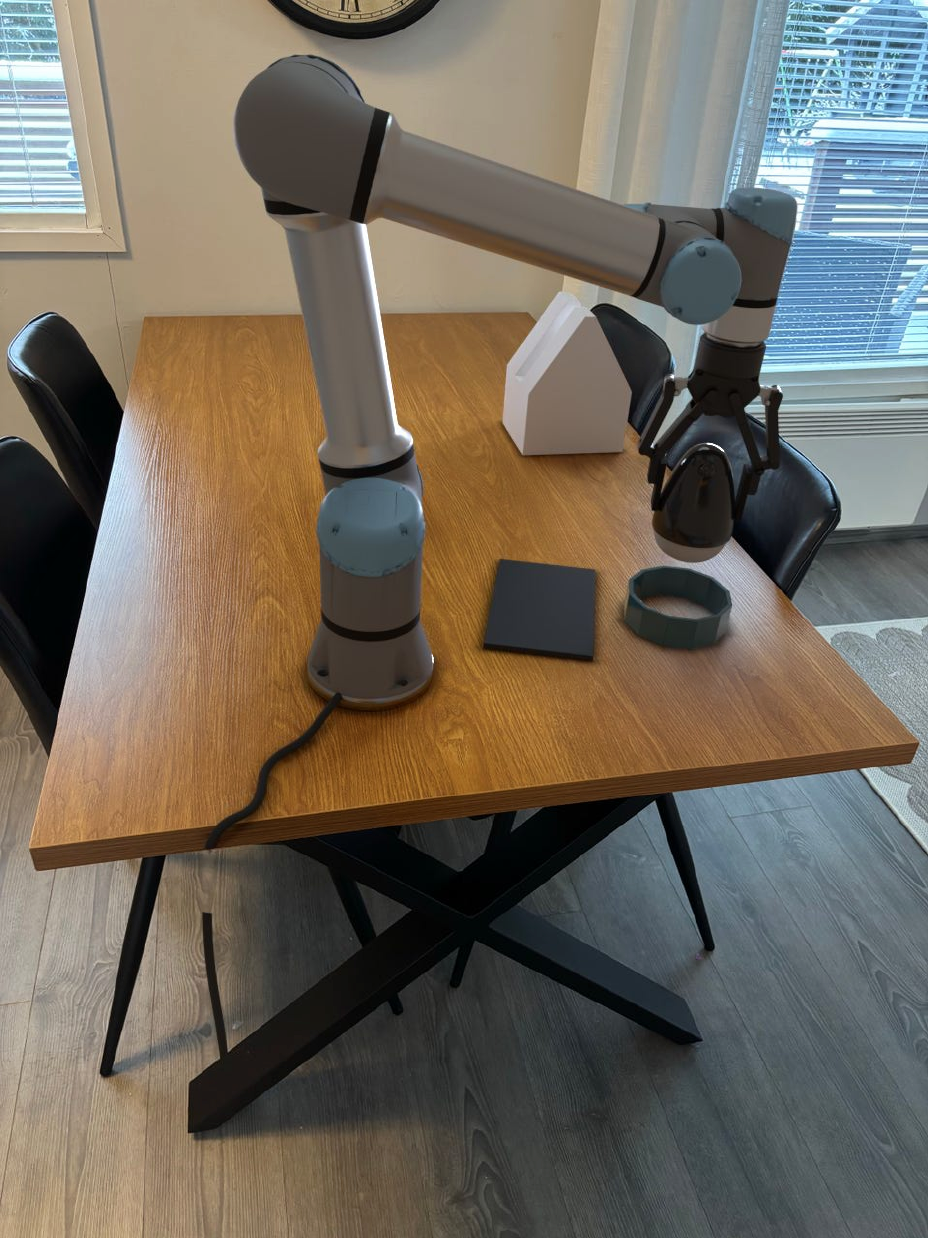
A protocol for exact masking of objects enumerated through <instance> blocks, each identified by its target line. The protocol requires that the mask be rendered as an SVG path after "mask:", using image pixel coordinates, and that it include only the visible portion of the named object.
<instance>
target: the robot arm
mask: <svg viewBox="0 0 928 1238" xmlns="http://www.w3.org/2000/svg"><path fill="white" fill-rule="evenodd" d="M233 137H234V138H233V139H234V145H235V149H236V152H237V154H238V157H239V160H240V162H241V164H242V166H243V168H244V170H245V171H246V172H247V174H248V175H249V176H250V178H251V179H252V180H253V181H254V182H255V183H256V184H257V185H258V186H259V187H260V190H261V191H260V192H261V195H262V200H263V203H264V208H265V213H266V215H267V216H268V217H269V218H270V219H272V220H273V221H275V222H276V223H277V224H279V225H280V226H281V227H282V228H283V230H284V234H285V238H286V244H287V248H288V253H289V258H290V263H291V267H292V273H293V278H294V283H295V288H296V292H297V298H298V302H299V307H300V312H301V317H302V322H303V327H304V330H305V331H304V333H305V336H306V342H307V346H308V350H309V356H310V360H311V365H312V371H313V374H314V381H315V385H316V390H317V394H318V401H319V404H320V409H321V410H320V411H321V415H322V420H323V424H324V429H325V433H326V437H325V438H324V439H323V441H322V442H321V444H320V445H319V447H318V449H317V458H318V462H319V467H320V472H321V477H322V481H323V486H324V492H325V496H324V498H323V499H322V501H321V503H320V506H319V510H318V515H317V520H316V537H317V540H318V541H317V542H318V551H319V553H318V554H319V582H320V583H319V585H320V586H319V587H320V588H319V589H320V592H319V593H320V616H321V617H320V621H319V624H318V627H317V629H316V632H315V635H314V637H313V641H312V643H311V646H310V649H309V651H308V655H307V659H306V668H307V679H308V683H309V684H310V687H311V688H312V689H313V690H314V692H315V693H316V694H317V695H319V697H321V698H322V699H324V700H326V701H327V703H326V705H325V706H324V707H323V709H322V710H321V711H320V713H319V714H318V715H317V716H316V718H315V720H314V721H313V722H312V724H311V725H310V726H309V727H308V728H307V729H306V730H305V731H304V733H302V735H300V736H299V737H297V738H296V739H295V740H293V741H291V742H290V743H288V744H286V745H285V746H282V747H281V748H280V749H278V750H277V751H275V752H274V753H272V754H271V755H270V756H269V757H268V758H267V760H266V761H264V763H263V765H262V766H261V769H260V771H259V774H258V779H257V786H256V790H255V793H254V796H253V798H252V799H251V801H250V802H249V804H247V805H246V806H245V807H244V808H242V809H240V810H238V811H236V812H234V813H232V814H231V815H228V816H226V817H224V819H221V821H219V822H218V823H217V824H216V826H214V827H213V829H212V831H211V832H210V833H209V834H208V837H207V839H206V841H205V843H204V849H205V850H206V851H210V850H213V849H214V848H215V847H216V846H217V843H218V842H219V839H220V838H221V836H222V835H223V834H224V833H225V831H227V830H228V829H229V828H230V827H232V826H233V825H236V824H238V823H239V822H242V821H243V820H245V819H247V818H250V817H251V816H252V815H253V814H254V813H255V812H256V811H257V810H258V809H259V808H260V807H261V805H262V803H263V801H264V799H265V796H266V793H267V792H266V791H267V786H268V779H269V776H270V773H271V771H272V770H273V768H274V767H275V766H276V764H277V763H279V761H281V760H282V759H284V758H285V757H287V756H288V755H290V754H291V753H294V752H295V751H297V750H298V749H300V748H301V747H303V746H305V745H306V744H308V742H309V741H310V740H311V739H312V738H313V737H314V736H315V735H316V734H317V733H318V731H319V730H320V729H321V728H322V726H323V725H324V723H325V722H326V720H327V719H328V718H329V717H330V715H331V714H332V713H333V711H334V710H335V709H336V707H337V706H339V707H341V708H345V709H350V710H357V711H367V712H368V711H372V712H373V711H385V710H390V709H394V708H398V707H401V706H404V705H407V704H409V703H411V702H413V701H414V700H416V699H418V698H419V697H420V696H422V695H423V694H424V693H425V692H426V691H427V690H428V688H429V687H430V685H431V683H432V680H433V677H434V656H433V653H432V649H431V647H430V643H429V641H428V638H427V634H426V632H425V629H424V626H423V624H422V620H421V606H422V585H423V584H422V582H423V581H422V579H423V557H424V553H423V551H424V541H425V537H426V521H425V517H424V509H423V496H424V481H423V476H422V473H421V471H420V469H419V465H418V464H417V458H416V451H415V446H414V445H415V444H414V439H413V436H412V434H411V432H409V431H408V430H407V429H405V428H404V427H403V426H401V425H399V423H398V418H397V412H396V406H395V400H394V393H393V387H392V381H391V374H390V368H389V361H388V356H387V350H386V343H385V337H384V331H383V324H382V318H381V311H380V305H379V298H378V292H377V287H376V280H375V273H374V267H373V261H372V255H371V249H370V243H369V235H368V230H367V225H369V224H371V223H372V222H374V221H376V220H378V219H384V220H388V221H391V222H395V223H397V224H400V225H403V226H406V227H410V228H413V229H416V230H420V231H423V232H425V233H429V234H432V235H436V236H439V237H441V238H445V239H447V240H451V241H454V242H457V243H461V244H464V245H467V246H470V247H474V248H476V249H480V250H483V251H486V252H490V253H493V254H496V255H498V256H501V257H505V258H509V259H511V260H515V261H518V262H521V263H524V264H527V265H531V266H533V267H536V268H539V269H543V270H547V271H550V272H553V273H556V274H560V275H563V276H566V277H568V278H572V279H575V280H578V281H580V282H581V281H582V282H585V283H588V284H591V285H595V286H597V287H601V288H604V289H607V290H609V291H614V292H617V293H620V294H623V295H625V296H629V297H631V298H635V299H637V300H639V301H642V302H644V303H645V302H646V303H649V304H652V305H654V306H658V307H661V308H663V309H664V310H665V312H666V313H667V314H669V315H670V316H671V317H673V318H674V319H677V320H678V321H680V322H682V323H684V324H688V325H693V326H700V325H702V327H701V328H702V331H703V332H704V333H702V334H700V336H699V340H698V345H697V350H696V355H695V360H694V366H693V369H692V371H691V372H690V374H689V375H688V376H687V377H686V376H685V377H684V376H674V374H673V373H666V374H665V376H664V377H663V386H662V393H661V394H660V397H659V399H658V400H657V402H656V405H655V407H654V409H653V410H652V413H651V415H650V417H649V419H648V421H647V423H646V425H645V427H644V429H643V431H642V433H641V435H640V437H639V439H638V440H637V441H638V442H637V450H638V451H637V452H638V454H639V455H640V456H646V457H648V458H649V462H648V468H647V474H646V479H647V484H650V485H653V486H652V487H653V488H652V492H651V499H650V510H651V511H652V512H654V511H658V506H659V501H660V496H661V492H662V490H663V487H664V486H663V485H664V480H665V475H666V471H667V465H668V462H667V461H668V460H667V454H668V453H669V452H670V450H672V448H673V447H674V446H675V445H676V443H677V442H679V440H680V439H681V438H682V437H683V435H684V434H685V433H686V432H687V431H688V429H690V427H691V426H692V425H693V424H694V423H695V422H696V421H697V420H699V419H700V417H701V416H702V415H704V416H706V417H716V416H719V417H722V418H724V419H732V417H735V420H736V423H737V425H738V429H739V432H740V434H741V437H742V440H743V443H744V446H745V449H746V453H747V455H748V457H749V460H750V464H747V463H743V466H742V471H741V475H740V480H739V483H738V487H737V492H736V494H735V514H734V521H736V522H737V521H738V522H741V521H742V519H743V515H744V512H745V506H746V502H747V499H748V496H755V495H756V494H757V492H758V489H759V485H760V481H761V477H762V476H763V475H764V474H765V471H768V470H772V471H776V470H778V469H779V468H780V467H781V456H780V453H781V451H780V426H779V425H780V424H779V421H780V420H779V410H780V407H781V405H782V401H783V398H784V394H783V392H782V390H781V387H780V386H779V385H778V384H773V385H771V386H767V385H763V384H760V374H761V371H762V366H763V363H764V358H765V355H766V350H767V345H766V342H765V341H766V340H768V339H769V338H770V334H771V329H772V324H773V321H774V316H775V312H776V308H777V303H778V299H779V294H780V290H781V286H782V282H783V278H784V275H785V270H786V266H787V263H788V261H789V256H790V251H791V248H792V246H793V243H794V236H795V231H796V225H797V220H798V218H797V217H798V211H799V204H798V201H797V199H796V198H795V196H793V195H791V194H789V193H787V192H785V191H781V190H778V189H777V190H776V189H771V188H764V187H737V188H735V189H733V190H731V191H730V193H729V195H728V196H727V197H728V198H727V201H726V202H725V203H724V207H716V208H705V207H693V206H680V205H679V206H678V205H666V204H656V203H655V204H654V203H652V202H645V203H624V204H620V203H618V202H615V201H612V200H609V199H606V198H604V197H600V196H597V195H594V194H591V193H588V192H585V191H582V190H579V189H577V188H573V187H570V186H568V185H564V184H562V183H559V182H557V181H553V180H550V179H548V178H544V177H542V176H538V175H535V174H533V173H529V172H526V171H523V170H521V169H517V168H515V167H511V166H509V165H506V164H503V163H500V162H498V161H494V160H491V159H489V158H485V157H482V156H480V155H476V154H473V153H470V152H469V151H465V150H462V149H460V148H456V147H453V146H450V145H448V144H445V143H441V142H438V141H436V140H432V139H430V138H426V137H424V136H420V135H418V134H415V133H412V132H409V131H406V130H403V128H402V127H401V125H400V124H399V122H398V119H397V118H396V116H395V115H394V113H393V112H389V111H387V110H383V109H380V108H378V107H376V106H373V105H371V104H368V103H366V101H365V99H364V97H363V95H362V92H361V90H360V88H359V87H358V85H357V84H356V82H355V80H354V79H353V78H352V77H351V76H350V75H349V73H348V72H347V71H345V70H344V69H343V68H342V67H341V66H339V65H338V63H335V62H334V61H331V60H330V59H327V58H325V57H322V56H319V55H316V54H315V55H314V54H297V53H296V54H293V55H290V56H284V57H281V58H279V59H277V60H275V61H274V62H272V63H271V64H269V65H268V66H267V67H266V68H265V69H263V70H262V71H261V72H259V73H258V74H257V75H255V76H254V77H253V78H252V79H251V80H250V81H249V82H248V84H247V85H246V86H245V88H244V89H243V90H242V93H241V95H240V97H239V99H238V101H237V104H236V107H235V111H234V116H233ZM685 389H687V390H688V392H689V394H690V396H691V399H690V400H689V401H688V402H687V404H686V405H685V408H684V409H683V410H682V411H681V413H680V414H679V415H678V416H677V417H676V418H675V419H674V421H673V422H672V423H671V424H670V425H669V427H668V428H667V429H666V430H665V432H664V433H663V434H662V435H661V436H660V438H659V439H658V440H657V441H656V442H655V439H656V437H657V435H658V433H659V431H660V429H661V427H662V426H663V424H664V422H665V420H666V417H667V415H668V414H669V412H670V409H671V407H672V405H673V403H674V400H675V397H679V396H680V395H681V393H682V391H683V390H685ZM758 396H759V397H760V401H761V404H762V405H763V407H764V420H765V443H766V445H765V446H766V455H763V456H761V455H760V452H759V449H758V446H757V443H756V440H755V436H754V434H753V431H752V428H751V425H750V422H749V419H748V415H747V413H746V410H745V408H746V407H747V406H749V405H750V404H751V403H752V402H753V401H754V400H756V398H757V397H758ZM654 442H655V443H654ZM201 914H202V915H201V917H202V918H201V919H202V920H201V921H202V925H201V926H202V927H201V928H202V945H203V956H204V957H203V958H204V965H205V973H206V979H207V980H206V981H207V987H208V991H209V1000H210V1004H211V1009H212V1015H213V1020H214V1026H215V1032H216V1039H217V1040H216V1041H217V1046H218V1054H219V1062H220V1063H221V1064H226V1063H228V1062H229V1060H230V1059H229V1047H228V1041H227V1039H228V1038H227V1032H226V1026H225V1020H224V1019H225V1018H224V1014H223V1007H222V1002H221V1001H222V1000H221V996H220V990H219V982H218V977H217V970H216V961H215V950H214V935H213V933H214V931H213V913H212V912H211V913H210V912H205V911H202V912H201Z"/></svg>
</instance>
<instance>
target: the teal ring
mask: <svg viewBox="0 0 928 1238" xmlns="http://www.w3.org/2000/svg"><path fill="white" fill-rule="evenodd" d="M625 594H626V595H625V600H624V605H623V617H624V618H623V619H624V623H625V624H626V625H627V626H628V627H629V628H630V629H631V630H632V631H633V632H634V633H635V634H636V635H637V636H638V637H640V638H643V639H645V640H647V641H650V642H652V643H654V644H657V645H659V646H661V647H666V648H674V649H683V650H696V649H699V648H704V647H705V648H706V647H710V646H713V645H716V643H717V642H718V641H719V640H720V639H721V638H722V637H723V636H724V635H725V634H726V632H727V629H728V625H729V620H730V617H731V613H732V609H733V600H732V596H731V591H730V590H729V589H728V588H727V587H726V586H725V585H723V584H722V582H720V581H719V580H717V578H715V577H713V576H712V575H708V574H706V573H703V572H701V571H698V570H695V569H692V568H689V567H682V566H681V567H680V566H671V565H658V566H654V567H648V568H642V569H640V570H639V571H638V572H636V573H635V574H634V575H632V577H630V578H629V579H628V583H627V588H626V593H625ZM655 596H667V597H668V596H669V597H677V598H684V599H687V600H689V601H691V602H694V603H696V604H699V605H701V606H703V607H705V608H706V609H708V610H709V612H711V613H712V615H708V616H703V617H697V618H693V617H684V616H676V615H669V614H667V613H664V612H662V611H659V610H657V609H654V608H652V607H650V606H647V605H646V604H645V603H644V602H643V601H642V600H641V599H644V598H650V597H655Z"/></svg>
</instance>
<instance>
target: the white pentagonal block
mask: <svg viewBox="0 0 928 1238" xmlns="http://www.w3.org/2000/svg"><path fill="white" fill-rule="evenodd" d="M632 394H633V391H632V389H631V386H630V384H629V382H628V380H627V378H626V376H625V374H624V372H623V370H622V368H621V366H620V364H619V361H618V359H617V358H616V355H615V353H614V351H613V349H612V347H611V345H610V343H609V341H608V338H607V337H606V335H605V333H604V330H603V328H602V326H601V324H600V322H599V320H598V317H597V316H596V315H595V314H594V313H593V312H592V311H591V310H590V309H589V308H588V307H586V306H582V304H581V302H580V300H579V299H578V298H577V297H576V296H575V295H574V294H573V293H572V292H570V291H558V292H557V294H556V295H555V296H554V297H553V299H552V301H551V302H550V304H548V306H547V308H546V309H545V311H544V312H543V314H541V316H540V318H539V319H538V320H537V322H536V323H535V325H534V326H533V327H532V329H531V330H530V331H529V333H528V335H527V336H526V337H525V338H524V340H523V342H522V343H521V344H520V346H519V347H518V349H517V350H516V352H515V353H514V354H513V356H512V357H511V358H510V359H509V361H508V362H507V364H506V371H505V386H504V398H503V408H502V425H503V426H504V428H505V429H506V431H507V433H508V434H509V437H511V440H512V441H513V442H514V444H515V446H516V447H517V449H518V450H519V452H520V454H521V456H543V455H570V454H571V455H573V454H574V455H575V454H599V453H600V454H603V453H623V452H624V446H625V439H626V433H627V426H628V420H629V413H630V408H631V407H630V406H631V401H632Z"/></svg>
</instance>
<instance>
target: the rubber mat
mask: <svg viewBox="0 0 928 1238" xmlns="http://www.w3.org/2000/svg"><path fill="white" fill-rule="evenodd" d="M595 586H596V569H594V568H586V567H578V566H577V567H576V566H570V565H569V566H568V565H561V564H560V565H559V564H550V563H541V562H533V561H525V560H524V561H523V560H515V559H507V558H499V561H498V566H497V571H496V577H495V581H494V586H493V592H492V597H491V603H490V608H489V612H488V613H489V614H488V617H487V618H488V619H487V623H486V629H485V633H484V639H483V646H482V649H487V650H488V649H489V650H497V651H505V652H513V653H521V654H530V655H539V656H546V657H555V658H556V657H557V658H564V659H571V660H581V661H590V662H593V659H594V637H595V636H594V634H595V630H594V629H595V593H596V587H595Z"/></svg>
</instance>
